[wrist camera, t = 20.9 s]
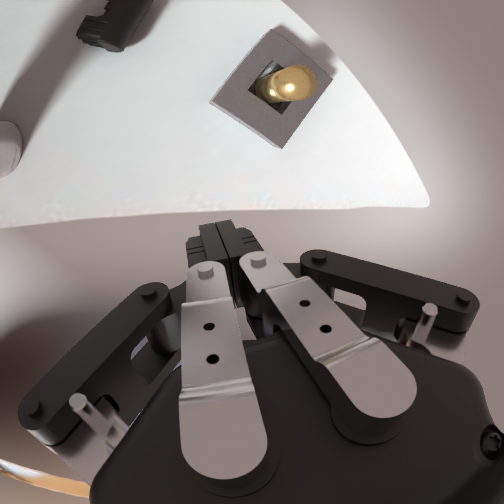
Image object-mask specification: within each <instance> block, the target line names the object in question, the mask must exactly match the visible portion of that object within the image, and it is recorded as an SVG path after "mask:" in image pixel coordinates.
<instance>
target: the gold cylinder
mask: <svg viewBox="0 0 504 504" xmlns="http://www.w3.org/2000/svg"><path fill="white" fill-rule="evenodd" d="M317 87H318V81H317V77H316V75H315V74H314V72H313V71H312V70H311V69H310V68H308V67H307V66H304V65H299V64H297V65H292V66H290V67H287V68H285V69H282V70H280V71H277V72H275V73H272V74H270V75H267V76H265V77H263V78H261V79H259V80H258V81H257V83H256V85H255V93H256V96H257V97H258V98H259V99H261V100H262V101H264V102H265V103H278V102H286V101H295V100H304V99H308V98H310V97H312V96H313V95H314V94H315V92H316V90H317Z"/></svg>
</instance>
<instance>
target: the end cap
mask: <svg viewBox="0 0 504 504" xmlns="http://www.w3.org/2000/svg"><path fill="white" fill-rule="evenodd" d="M108 1H109V2H108V3H107V5H106V6H105V8H104V9H105V10H106V11H105V13H104V14H103V15H102V16H98V17H96V16H88V15H86V17H85V18H84V20H83V22H82V23H81V25H80V27H79V29H78V31H77V33H76V36H77V37H78V39H82V41H83V43H87V44H89V45H91V46H96V47H101V48H105V49H106V50H107V51H110V52H122V51H124V49H125V47H126V45H127V43H128V41H129V39H130V38H131V36H132V34H133V32H134V31H135V29H136V27H137V25H138V24H139V22H140V20H141V19H142V17H143V16H144V14H145V13H146V11H147V9H148V8H149V6H150V5H151V3H152V2H153V0H108Z"/></svg>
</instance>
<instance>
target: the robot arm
mask: <svg viewBox="0 0 504 504" xmlns="http://www.w3.org/2000/svg"><path fill="white" fill-rule="evenodd" d="M21 153H22V138H21V134H20V131H19V129H18V128H17V126H16V125H15V124H14V123H12V122H10V121H1V122H0V178H2V177H4V176H6V175H8V174H10V173H11V172H12V171H13V170H14V169H15V168H16V166H17V165H18V162H19V160H20V157H21ZM199 230H200V236H197V237H191V238H189V239H188V241H187V242H186V251H187V258H188V266H189V270H188V271H187V274H186V281H185V282H183V283H182V284H180V285H179V286H177V287H175V288H172V289H170V290H169V289H168V287H167V286H166V285H165V284H163V283H159V282H153V283H148V284H145V285H142V286H140V287H138V288H137V289H136V290H135V291H133V292H132V293H131V294H130V295H129V296H128V297H127V298H126V299H124V300H123V301H122V302H121V303H120V304H119V305H118V306H117V307H116V308H114V309H113V310H112V311H111V312H110V313H109V314H108V315H107V316H106V317H105V318H104V319H102V321H100V322H99V323H98V324H97V325H96V326H95V327H94V328H93V329H92V330H91V331H90V332H88V333H87V334H86V335H85V336H84V337H83V338H82V339H81V340H80V341H79V342H78V343H77V344H76V345H75V346H74V347H73V348H72V349H71V350H70V351H69V352H68V353H67V354H66V355H65V356H64V357H63V358H62V359H61V360H60V361H59V362H58V363H57V364H56V365H55V366H54V367H53V368H52V369H51V370H50V371H49V372H48V373H47V374H46V375H45V376H44V377H43V378H42V379H41V380H40V381H39V382H38V383H37V384H36V385H35V386H34V387H33V388H32V389H31V390H30V391H29V392H28V393H27V394H26V395H25V397H24V398H23V399H22V401H21V402H20V405H19V408H18V419H19V421H20V424H21V425H22V426H23V427H24V428H25V429H27V431H29V432H30V433H31V434H32V435H34V436H35V437H36V438H37V439H38V440H39V441H40V442H41V443H42V444H43V445H45V446H46V447H47V448H49V449H50V450H51V451H53V452H54V453H56V454H57V455H58V456H59V457H60V458H61V459H62V460H63V461H64V462H65V463H66V464H67V465H68V466H69V467H70V468H71V469H72V470H73V471H74V472H75V473H76V474H77V475H78V476H79V477H80V478H82V479H83V480H84V481H85V482H86V483H87V484H88V485H89V486H90V487H91V488H90V495H89V500H90V504H504V434H503V433H502V432H500V430H499V429H498V428H497V427H496V425H495V424H494V422H493V419H492V417H491V415H490V413H489V410H488V407H487V403H486V400H485V396H484V391H483V388H482V386H481V384H480V382H479V380H478V378H477V377H476V376H475V375H474V373H472V372H471V371H470V370H469V369H468V368H466V367H465V366H464V358H465V346H466V334H467V332H468V330H469V328H470V326H471V324H472V322H473V320H474V318H475V316H476V314H477V312H478V309H479V307H480V303H479V300H478V299H477V297H476V296H475V295H474V294H473V293H472V292H470V291H468V290H466V289H464V288H461V287H457V286H454V285H450V284H447V283H443V282H440V281H436V280H433V279H429V278H426V277H422V276H419V275H415V274H412V273H408V272H404V271H401V270H397V269H393V268H389V267H386V266H383V265H379V264H375V263H371V262H368V261H364V260H360V259H357V258H353V257H349V256H345V255H341V254H338V253H334V252H330V251H326V250H310V251H307V252H305V253H303V254H302V255H301V257H300V263H282V262H281V261H280V260H279V259H278V258H277V257H276V256H275V255H274V254H272V253H270V252H266V251H264V250H263V248H262V247H261V245H260V244H259V242H258V241H257V240H256V238H255V237H254V235H253V234H252V232H251V231H250V230H248V229H246V228H238V229H236V228H235V226H234V225H233V223H232V221H231V220H225V221H220V222H215V223H209V224H204V225H199ZM335 288H337V289H340V290H343V291H346V292H350V293H353V294H356V295H359V296H361V297H362V298H364V300H365V301H366V305H367V306H366V310H361V309H358V308H355V307H352V306H349V305H346V304H343V303H340V302H337V301H333V300H334V291H335ZM235 303H236V306H237V308H240V307H244V308H245V313H246V320H247V322H248V324H249V326H250V328H251V330H252V332H253V334H254V336H255V337H256V340H244V341H242V339H241V335H240V331H239V326H238V322H237V317H236V313H235ZM145 336H146V337H147V339H148V342H147V343H146V344H145V345H144V346H143V347H142V349H141V350H140V351H139V352H138V353H137V354H136V355H135V356H134V358H133V359H132V360H131V359H130V358H131V353H132V351H133V349H134V348H135V347H136V346H137V345H138V344H139V342H140V341H141V340H142V339H143V338H144V337H145ZM180 360H181V365H180V366H179V367H177V368H176V369H175V370H173V369H174V368H175V366H176V365H177V364H178V362H179V361H180ZM172 370H173V371H172ZM146 404H147V405H146ZM145 405H146V406H145ZM143 408H144V409H143ZM142 409H143V410H142ZM140 412H141V413H140ZM139 413H140V414H139ZM138 414H139V416H138ZM137 416H138V417H137ZM136 417H137V418H136ZM135 418H136V420H135V421H134V419H135ZM133 421H134V423H133V424H132V425H131V423H132V422H133ZM130 425H131V427H130V428H129V426H130Z"/></svg>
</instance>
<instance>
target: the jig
mask: <svg viewBox="0 0 504 504" xmlns="http://www.w3.org/2000/svg"><path fill="white" fill-rule="evenodd" d="M297 64H299V65H304V66H307V67H308V68H310V69H311V70H312V71H313V72H314V74H315V75H316V77H317V81H318V87H317V90H316V92H315V94H314V95H313V96H312V97H310V98H308V99H304V100H295V101H286V102H283V103H282V104H281V105H280V107H279V108H278V109H277V111H276V110H275V109H273V108H272V107H271V106H269V105H268V104H266V103H265V102H264V101H262V100H261V99H259V98H258V97H257V96H255V95H254V94H252V93H251V92H250V91H248V89H249V88H250V86H251V85H252V84H253V82H254V81H255V80H256V79H257V77H258V76H259V75H260V74H261V72H262V71H263V70H264V69H265V67H266V66H269V67H270V68H271V69H273V70H274V71H275V72H277V71H280V70H282V69H285V68H287V67H290V66H292V65H297ZM332 80H333V79H332V78H331V77H330V76H329V75H328V74H327V73H326V72H325V71H323V70H322V69H321V68H320V67H319V66H318V65H317V64H315V63H314V62H313V61H312V60H311V59H310V58H308V57H307V56H306V55H305V54H304V53H302V52H301V51H300V50H299V49H297V48H296V47H295V46H294V45H292V44H291V43H290V42H288V41H287V40H286V39H284V38H283V37H282V36H280V35H279V34H278V33H276V32H275V31H273V30H272V29H270V30H269V31H268V32H267V33H265V34H264V35H263V36H262V37H261V38H260V40H259V41H258V42H257V43H256V44H255V45H254V46H253V48H252V49H251V50H250V51H249V52H248V53H247V55H246V56H245V57H244V58H243V59H242V61H241V62H240V63H239V64H238V65H237V67H236V68H235V69H234V70H233V72H232V73H231V74H230V75H229V77H228V78H227V79H226V81H225V82H224V83H223V84H222V86H221V87H220V88H219V90H218V91H217V92H216V94H215V95H214V96H213V98H212V99H211V101H210V102H209V103H210V104H212V105H213V106H215V107H216V108H218V109H219V110H221V111H223V112H224V113H226V114H227V115H229V116H230V117H232V118H233V119H235V120H236V121H238V122H239V123H241V124H242V125H244V126H245V127H247V128H248V129H250V130H251V131H253V132H254V133H256V134H257V135H259V136H260V137H261V138H263V139H264V140H266V141H267V142H268V143H270V144H271V145H273V146H274V147H277V148H281V149H282V148H283V147H284V145H285V144H286V143H287V141H288V140H289V138H290V137H291V136H292V134H293V133H294V132H295V130H296V129H297V127H298V126H299V125H300V123H301V122H302V120H303V119H304V118H305V116H306V115H307V114H308V112H309V111H310V110H311V108H312V107H313V106H314V104H315V103H316V101H317V100H318V99H319V97H320V96H321V95H322V93H323V92H324V91H325V89H326V88H327V87H328V86H329V84H330V83H331V82H332Z"/></svg>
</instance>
